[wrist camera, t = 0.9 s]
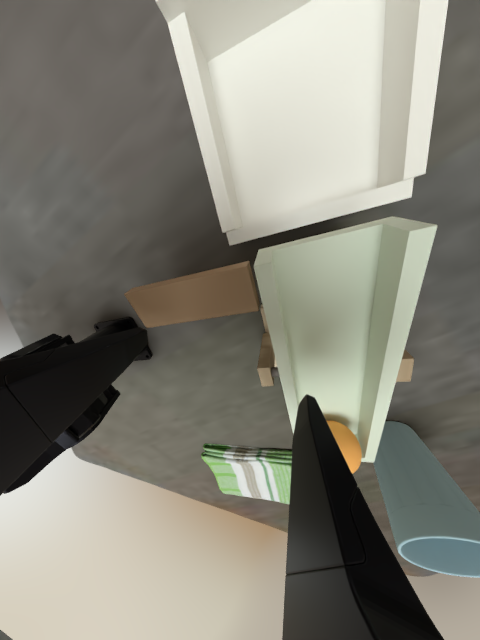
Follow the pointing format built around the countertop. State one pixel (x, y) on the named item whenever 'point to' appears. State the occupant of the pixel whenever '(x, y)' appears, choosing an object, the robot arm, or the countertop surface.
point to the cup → (426, 506)
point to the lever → (319, 314)
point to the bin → (307, 103)
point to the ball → (347, 444)
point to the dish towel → (251, 471)
